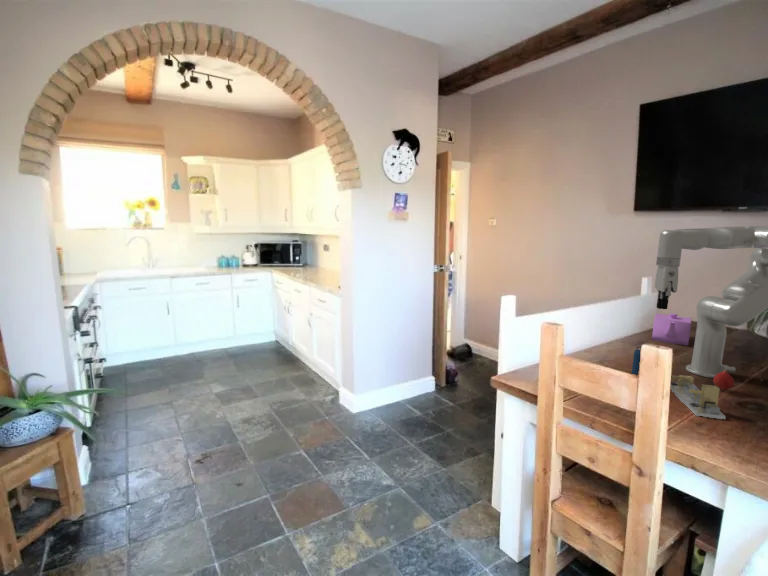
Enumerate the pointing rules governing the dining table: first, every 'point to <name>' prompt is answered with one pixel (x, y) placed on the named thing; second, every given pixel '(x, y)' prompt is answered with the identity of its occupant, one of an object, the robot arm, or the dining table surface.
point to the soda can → (636, 361)
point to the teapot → (671, 329)
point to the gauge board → (688, 398)
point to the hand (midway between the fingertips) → (661, 308)
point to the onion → (723, 380)
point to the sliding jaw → (707, 394)
